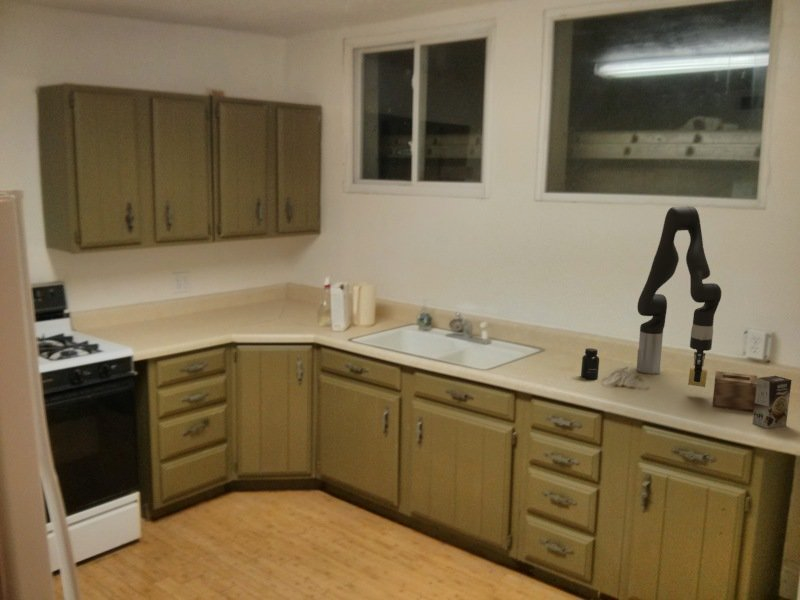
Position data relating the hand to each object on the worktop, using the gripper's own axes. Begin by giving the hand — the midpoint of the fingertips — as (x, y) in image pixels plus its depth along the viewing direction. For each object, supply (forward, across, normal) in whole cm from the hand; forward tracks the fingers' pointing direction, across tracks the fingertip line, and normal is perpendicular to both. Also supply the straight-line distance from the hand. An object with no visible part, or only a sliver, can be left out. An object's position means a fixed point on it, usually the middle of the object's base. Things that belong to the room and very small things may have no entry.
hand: (697, 380), depth 276 cm
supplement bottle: (+7, -8, -41) cm, 42 cm away
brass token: (+2, 0, 0) cm, 2 cm away
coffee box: (+6, +23, +24) cm, 34 cm away
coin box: (+6, +5, +13) cm, 15 cm away
